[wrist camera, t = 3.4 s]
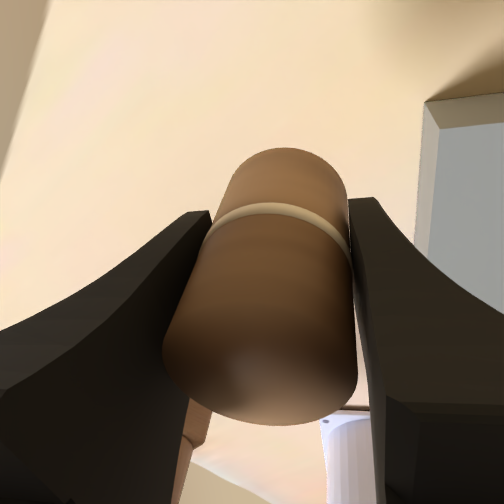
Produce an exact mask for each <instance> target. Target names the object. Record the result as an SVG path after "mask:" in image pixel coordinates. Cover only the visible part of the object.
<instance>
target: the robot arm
mask: <svg viewBox="0 0 504 504" xmlns="http://www.w3.org/2000/svg"><path fill="white" fill-rule="evenodd" d="M348 209H349V229H350V249H351V257H352V264H353V298H354V304H355V310H356V316H357V322H358V327H359V333H360V339H361V345H362V350H363V356H364V362H365V367H366V374H367V382H368V392H369V406H370V411H350V410H337V411H336V412H334V413H332V414H331V415H328V416H326V417H324V418H322V419H319V422H320V429H321V436H322V443H323V450H324V457H325V464H326V471H327V504H504V314H502V313H501V312H499V311H497V310H496V309H494V308H493V307H491V306H490V305H488V304H486V303H485V302H483V301H482V300H480V299H479V298H477V297H475V296H474V295H472V294H471V293H469V292H468V291H467V290H465V289H464V288H462V287H461V286H459V285H458V284H457V283H455V282H454V281H453V280H452V279H450V278H449V277H448V276H446V275H445V274H444V273H443V272H442V271H440V270H439V269H438V268H437V267H436V266H435V265H434V264H432V263H431V262H430V261H429V260H428V259H427V258H426V257H425V256H424V255H423V254H422V253H421V252H420V251H419V250H418V249H417V248H416V247H415V246H414V245H413V244H412V243H411V242H410V241H409V240H408V239H407V238H406V237H405V236H404V234H403V233H402V232H401V231H400V230H399V229H398V228H397V226H396V225H395V224H394V223H393V222H392V220H391V219H390V218H389V216H388V215H387V214H386V212H385V211H384V210H383V208H382V207H381V205H380V204H379V202H378V201H377V200H376V199H375V198H374V197H368V198H356V199H348ZM211 225H212V220H211V217H210V213H209V210H205V211H193V212H187V213H185V214H184V215H182V216H181V217H179V218H178V219H177V220H175V221H174V222H173V223H171V224H170V225H169V226H168V227H166V228H165V229H164V230H163V231H161V232H160V233H159V234H158V235H156V236H155V237H154V238H153V239H151V240H150V241H149V242H147V243H146V244H145V245H144V246H142V247H141V248H140V249H139V250H137V251H136V252H135V253H133V254H132V255H131V256H129V257H128V258H127V259H125V260H124V261H122V262H121V263H120V264H118V265H117V266H116V267H114V268H113V269H112V270H110V271H109V272H107V273H106V274H104V275H103V276H102V277H100V278H99V279H97V280H95V281H94V282H92V283H91V284H89V285H88V286H86V287H84V288H83V289H81V290H79V291H78V292H76V293H74V294H73V295H71V296H69V297H67V298H66V299H64V300H62V301H60V302H58V303H56V304H54V305H52V306H51V307H49V308H47V309H45V310H43V311H41V312H39V313H37V314H35V315H33V316H31V317H29V318H27V319H25V320H23V321H21V322H19V323H17V324H15V325H12V326H10V327H8V328H6V329H4V330H1V331H0V504H171V500H172V493H173V487H174V481H175V474H176V468H177V462H178V456H179V450H180V445H181V440H182V434H183V429H184V424H185V418H186V413H187V409H188V404H189V400H190V397H188V396H187V395H186V394H185V393H184V392H183V391H182V390H181V389H180V388H179V387H178V386H177V385H176V384H175V383H174V382H173V380H172V379H171V378H170V376H169V374H168V372H167V371H166V368H165V365H164V363H163V358H162V345H163V340H164V337H165V335H166V333H167V330H168V328H169V325H170V323H171V321H172V318H173V316H174V314H175V311H176V309H177V306H178V304H179V302H180V299H181V297H182V294H183V292H184V290H185V287H186V285H187V283H188V280H189V278H190V275H191V273H192V271H193V268H194V266H195V263H196V261H197V258H198V254H199V251H200V248H201V246H202V243H203V241H204V239H205V237H206V234H207V233H208V231H209V230H210V228H211Z"/></svg>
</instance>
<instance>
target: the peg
mask: <svg viewBox="0 0 504 504" xmlns="http://www.w3.org/2000/svg"><path fill="white" fill-rule="evenodd" d="M162 358H163V363H164V365H165V368H166V371H167V372H168V374H169V376H170V378H171V379H172V380H173V382H174V383H175V384H176V385H177V386H178V387H179V388H180V389H181V390H182V391H183V392H184V393H185V394H186V395H187V396H188V397H190V398H191V399H192V400H194V401H195V402H197V403H198V404H200V405H202V406H204V407H205V408H207V409H209V410H211V411H213V412H215V413H218V414H220V415H223V416H226V417H228V418H232V419H235V420H238V421H243V422H247V423H252V424H259V425H269V426H288V425H298V424H304V423H309V422H313V421H316V420H319V419H322V418H324V417H326V416H328V415H331V414H332V413H334V412H336V411H337V410H339V409H340V408H341V407H342V406H344V405H345V404H346V403H347V402H348V400H349V399H350V398H351V397H352V395H353V393H354V391H355V389H356V385H357V381H358V366H357V350H356V333H355V317H354V301H353V264H352V257H351V252H350V236H349V219H348V203H347V194H346V190H345V186H344V184H343V182H342V180H341V178H340V176H339V175H338V173H337V172H336V171H335V170H334V168H333V167H332V166H331V165H330V164H328V163H327V162H326V161H325V160H323V159H322V158H320V157H319V156H317V155H314V154H312V153H310V152H307V151H304V150H300V149H295V148H275V149H269V150H266V151H262V152H260V153H258V154H255V155H253V156H252V157H250V158H249V159H247V160H246V161H245V162H244V163H242V164H241V165H240V166H239V168H238V169H237V170H236V171H235V173H234V174H233V176H232V178H231V180H230V182H229V185H228V187H227V190H226V192H225V194H224V197H223V199H222V201H221V204H220V206H219V209H218V211H217V213H216V216H215V218H214V221H213V223H212V225H211V228H210V230H209V231H208V233H207V234H206V237H205V239H204V241H203V243H202V246H201V248H200V251H199V254H198V258H197V261H196V263H195V266H194V268H193V271H192V273H191V275H190V278H189V280H188V283H187V285H186V287H185V290H184V292H183V294H182V297H181V299H180V302H179V304H178V306H177V309H176V311H175V314H174V316H173V318H172V321H171V323H170V325H169V328H168V330H167V333H166V335H165V337H164V340H163V345H162Z"/></svg>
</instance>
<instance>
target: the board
mask: <svg viewBox="0 0 504 504" xmlns="http://www.w3.org/2000/svg"><path fill="white" fill-rule="evenodd" d="M414 246H415V247H416V248H417V249H418V250H419V251H420V252H421V253H422V254H423V255H424V256H425V257H426V258H427V259H428V260H429V261H430V262H431V263H432V264H434V265H435V266H436V267H437V268H438V269H439V270H440V271H442V272H443V273H444V274H445V275H446V276H448V277H449V278H450V279H452V280H453V281H454V282H455V283H457V284H458V285H459V286H461V287H462V288H464V289H465V290H467V291H468V292H469V293H471V294H472V295H474V296H475V297H477V298H479V299H480V300H482V301H483V302H485V303H486V304H488V305H490V306H491V307H493V308H494V309H496V310H497V311H499V312H501V313H502V314H504V93H496V94H488V95H479V96H471V97H463V98H455V99H447V100H439V101H431V102H424V112H423V126H422V141H421V155H420V169H419V183H418V197H417V211H416V225H415V239H414Z"/></svg>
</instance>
